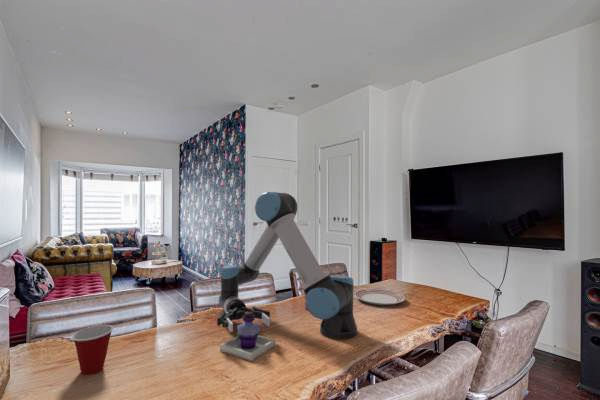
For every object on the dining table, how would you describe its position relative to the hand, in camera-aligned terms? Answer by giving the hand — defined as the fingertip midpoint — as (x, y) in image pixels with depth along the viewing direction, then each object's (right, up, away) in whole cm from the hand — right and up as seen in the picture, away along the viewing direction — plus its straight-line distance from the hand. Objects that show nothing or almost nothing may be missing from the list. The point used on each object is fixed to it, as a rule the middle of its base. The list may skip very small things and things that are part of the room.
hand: (250, 325), depth 113 cm
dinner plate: (+62, -13, +67) cm, 92 cm away
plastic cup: (-46, -8, -15) cm, 50 cm away
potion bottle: (-1, -9, +2) cm, 9 cm away
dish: (-1, -9, +2) cm, 9 cm away
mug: (+23, -11, +50) cm, 56 cm away
